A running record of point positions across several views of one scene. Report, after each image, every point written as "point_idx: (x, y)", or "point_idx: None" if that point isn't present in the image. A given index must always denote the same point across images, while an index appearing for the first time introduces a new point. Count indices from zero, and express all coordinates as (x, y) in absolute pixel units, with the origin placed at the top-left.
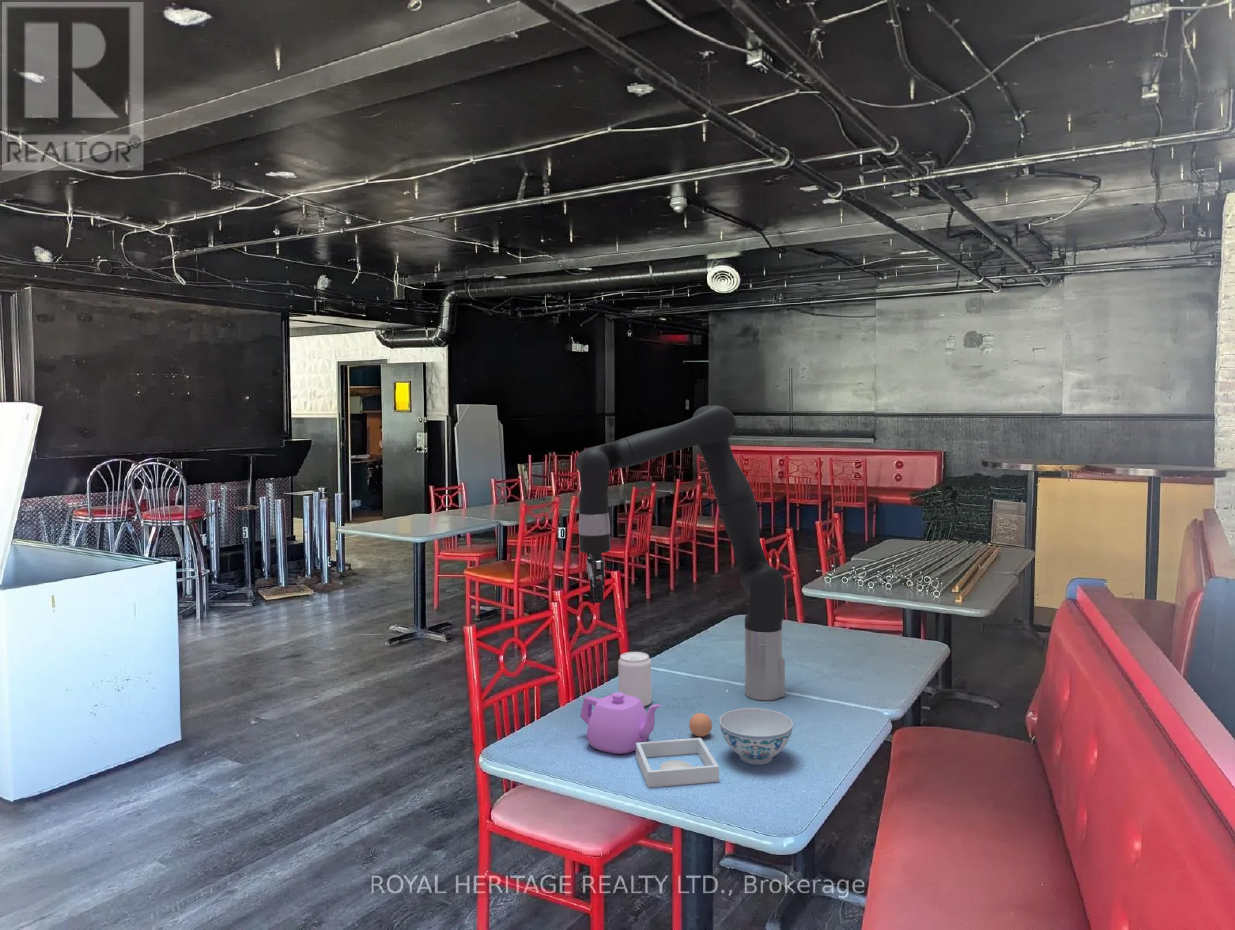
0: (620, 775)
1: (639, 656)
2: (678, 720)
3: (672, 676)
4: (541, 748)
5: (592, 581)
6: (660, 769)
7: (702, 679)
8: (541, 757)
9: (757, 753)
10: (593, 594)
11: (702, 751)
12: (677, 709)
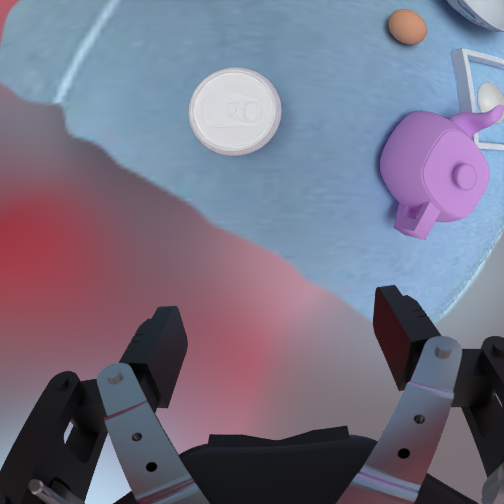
0: (498, 177)
1: (221, 96)
2: (336, 47)
3: (99, 57)
4: (415, 278)
5: (165, 389)
6: (494, 123)
7: (121, 6)
8: (440, 275)
9: (500, 10)
10: (183, 331)
11: (481, 59)
12: (280, 41)
